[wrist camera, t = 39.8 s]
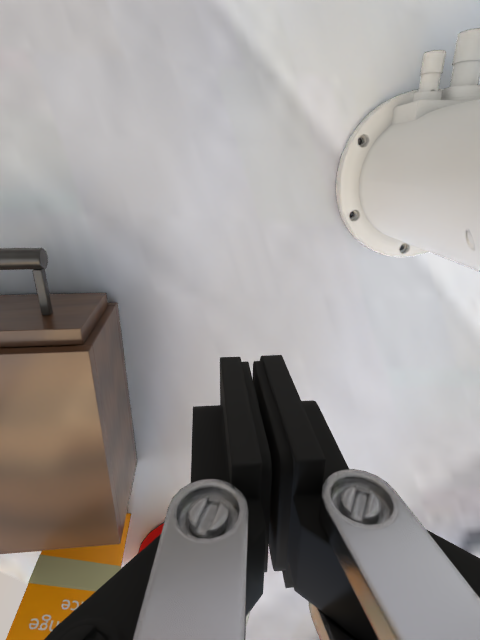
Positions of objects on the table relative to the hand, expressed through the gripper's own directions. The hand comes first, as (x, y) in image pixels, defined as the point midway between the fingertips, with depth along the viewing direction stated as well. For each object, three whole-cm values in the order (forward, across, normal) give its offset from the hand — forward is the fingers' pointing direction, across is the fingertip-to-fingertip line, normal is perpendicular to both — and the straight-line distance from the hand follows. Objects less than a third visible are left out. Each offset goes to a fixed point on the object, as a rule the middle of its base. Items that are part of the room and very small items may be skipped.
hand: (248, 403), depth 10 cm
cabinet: (+23, +15, +14) cm, 31 cm away
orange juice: (+23, +15, +33) cm, 43 cm away
